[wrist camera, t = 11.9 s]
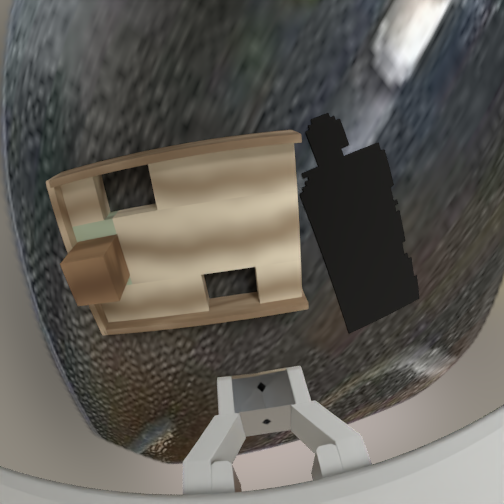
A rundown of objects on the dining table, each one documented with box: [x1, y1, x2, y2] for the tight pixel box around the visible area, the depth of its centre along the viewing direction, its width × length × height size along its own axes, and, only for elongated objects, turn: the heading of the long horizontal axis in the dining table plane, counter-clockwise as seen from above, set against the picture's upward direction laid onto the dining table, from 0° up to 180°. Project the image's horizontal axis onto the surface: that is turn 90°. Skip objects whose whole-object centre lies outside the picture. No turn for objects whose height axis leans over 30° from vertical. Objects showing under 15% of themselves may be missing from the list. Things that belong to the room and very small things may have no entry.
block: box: [60, 234, 130, 306], centre depth 30 cm, size 5×5×5 cm
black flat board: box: [300, 113, 419, 333], centre depth 37 cm, size 12×1×30 cm
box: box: [46, 130, 308, 335], centre depth 33 cm, size 20×25×4 cm
